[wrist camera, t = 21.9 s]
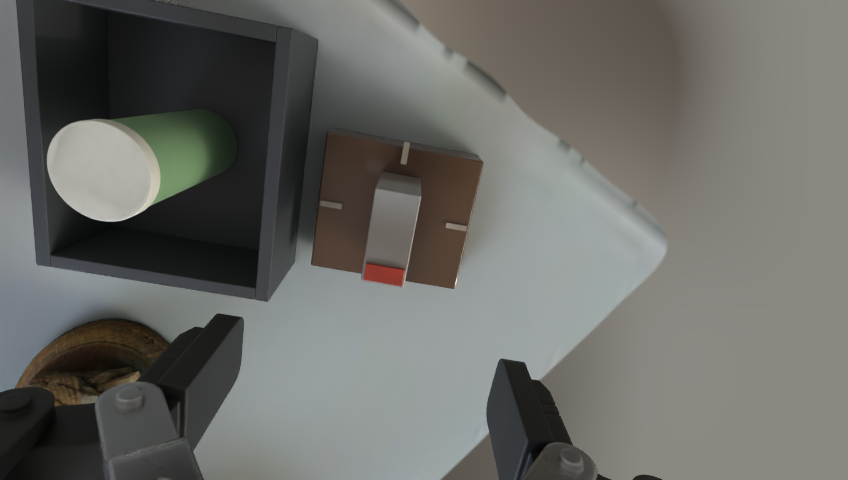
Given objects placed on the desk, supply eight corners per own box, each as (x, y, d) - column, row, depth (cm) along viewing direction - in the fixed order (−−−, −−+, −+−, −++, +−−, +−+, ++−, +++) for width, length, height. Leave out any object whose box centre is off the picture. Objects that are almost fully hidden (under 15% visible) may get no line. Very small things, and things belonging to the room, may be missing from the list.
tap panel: (318, 254, 35) (309, 271, 32) (335, 122, 32) (326, 126, 29) (450, 277, 36) (454, 295, 33) (479, 149, 32) (485, 156, 30)
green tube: (169, 170, 32) (49, 212, 22) (170, 101, 31) (42, 111, 20) (237, 182, 32) (151, 229, 22) (241, 114, 31) (152, 131, 21)
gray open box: (106, 231, 34) (36, 265, 28) (99, -5, 29) (13, -28, 23) (294, 262, 35) (267, 302, 29) (318, 39, 30) (292, 28, 24)
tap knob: (382, 171, 30) (375, 188, 25) (420, 178, 30) (421, 197, 25) (369, 251, 32) (360, 282, 27) (405, 257, 32) (403, 290, 27)
